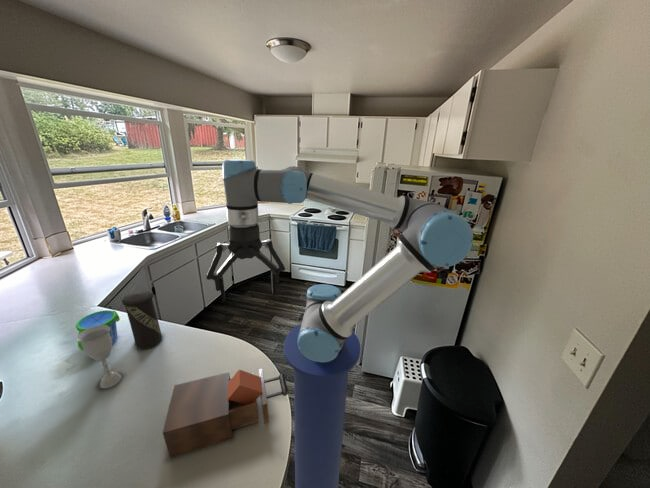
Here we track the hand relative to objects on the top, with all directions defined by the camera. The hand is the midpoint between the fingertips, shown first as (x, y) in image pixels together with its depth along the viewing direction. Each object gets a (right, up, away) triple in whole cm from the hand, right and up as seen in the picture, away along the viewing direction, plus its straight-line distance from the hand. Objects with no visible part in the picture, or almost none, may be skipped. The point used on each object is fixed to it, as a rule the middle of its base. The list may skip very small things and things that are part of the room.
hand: (249, 296), depth 70 cm
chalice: (-44, -27, +5) cm, 52 cm away
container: (-44, -21, +21) cm, 53 cm away
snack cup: (-59, -21, +20) cm, 66 cm away
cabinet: (-10, -32, -5) cm, 34 cm away
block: (+3, -25, -3) cm, 26 cm away
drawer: (+2, -30, -1) cm, 30 cm away
